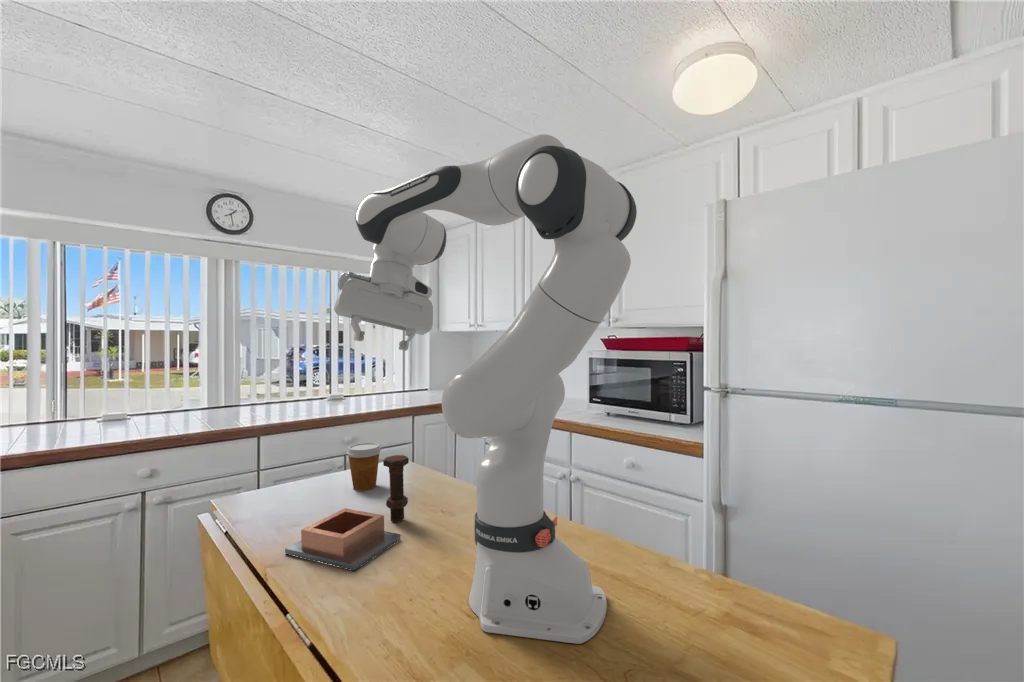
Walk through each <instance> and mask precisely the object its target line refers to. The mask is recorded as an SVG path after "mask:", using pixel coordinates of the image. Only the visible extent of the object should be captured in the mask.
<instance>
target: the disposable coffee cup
mask: <svg viewBox="0 0 1024 682" xmlns="http://www.w3.org/2000/svg"><path fill="white" fill-rule="evenodd" d="M381 449H382V448H381V447H380V444H379V443H376V442H362V443H361V442H360V443H355V444H351V445H350V446H348V447H347V451H346V454H347V458H348V463H349V468H350V469H349V470H350V474H351V475H350V476H351V481H352V489H353V490H354V491H357V490H358V492H359V491H360V492H362V491H365V490H366V491H371V490H373V489H376V487H377V480H378V479H377V478H378V469H379V460H380V452H381Z"/></svg>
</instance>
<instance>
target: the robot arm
mask: <svg viewBox="0 0 1024 682" xmlns="http://www.w3.org/2000/svg"><path fill="white" fill-rule="evenodd" d="M637 209H638V208H637V205H636V202H635V199H634V197H633V195H632V193H631V192H630V190H629V189H628V188H627V187H626V186H625V185H624V184H623V183H621V182H619V181H617V179H615V178H614V177H612V175H610V174H609V173H608V171H606V170H605V169H604V168H603V166H600V165H599V164H597V163H595V162H593V161H592V160H590V159H589V158H586V157H583V156H581V155H580V154H578V153H577V152H576V151H574V150H572V149H569V148H567V147H566V146H565V145H564V144H563V143H562V141H561V140H559V139H558V138H556V136H553V135H552V134H551V135H550V134H546V133H545V134H538V135H535V136H534V135H533V136H531V137H529V138H526V139H523V140H521V141H518V142H516V143H514V144H512V145H510V146H508V147H506V148H504V149H503V150H500V151H499V152H497V153H496V154H494V155H491V157H488V158H486V159H483V160H481V161H477V162H474V163H472V162H471V163H469V164H460V165H443V166H439V167H437V168H435V169H431V170H430V171H426V172H425V173H422V174H420V175H418V176H416V177H413V178H411V179H409V180H406V181H404V182H402V183H399V184H398V185H397V184H396V185H395V186H393V187H391V188H384V189H380V190H376V191H373V192H371V193H369V194H367V195H366V196H365V197H364V198H363V199H362V200H361V201H360V203H359V205H358V207H357V209H356V212H355V217H354V218H355V223H356V227H357V229H358V232H359V234H360V235H361V237H362V239H363V240H365V241H367V242H370V243H371V244H373V260H372V262H371V265H370V269H369V276H367V275H362V274H357V273H355V272H351V271H348V272H344V273H343V272H342V273H341V274H340V275H339V277H338V282H337V288H338V289H339V291H338V293H337V296H336V300H335V303H334V307H333V310H334V312H335V314H336V315H337V316H340V317H344V318H349V319H350V325H351V327H352V330H353V332H354V335H353V336H354V337H353V340H354V341H356V342H363V341H364V339H365V333H366V332H365V331H363V330H362V329H361V326H360V323H361V322H366V323H370V324H374V325H377V326H383V327H387V328H390V329H391V328H392V329H394V330H395V329H396V330H399V331H403V332H405V334H404V335H405V337H406V338H405V339H403V340H401V341H399V343H398V350H399V351H404V352H406V351H408V349H409V345H410V342H411V340H413V338H414V337H415V336H416V335H420V336H425V335H426V334H428V333H429V332H430V331H432V329H433V324H434V323H433V322H434V308H433V307H434V306H433V303H432V301H431V300H430V298H431V297H432V295H433V290H432V288H431V287H430V286H428V285H427V284H425V283H423V282H422V280H419V279H418V278H416V276H414V275H413V268H414V267H415V266H424V265H427V264H430V263H433V262H434V261H436V260H438V259H439V258H440V257H442V255H443V254H444V252H445V249H446V247H447V232H446V228H445V226H444V224H443V223H441V222H440V221H439V220H438V219H436V218H434V217H432V216H430V215H429V214H427V213H426V211H431V210H432V211H433V210H434V211H435V210H436V211H438V210H439V211H445V212H449V213H452V214H455V215H459V216H461V217H464V218H467V219H470V220H472V221H474V222H477V223H479V224H481V225H486V226H500V225H501V226H502V225H505V224H510V223H513V222H515V221H518V220H519V219H521V218H523V217H526V218H527V219H528V220H529V221H530V222H531V224H532V225H533V226H534V228H535V229H536V232H537V233H538V235H539V236H540V238H542V239H543V240H553V242H554V255H553V257H552V259H551V261H550V263H549V265H548V266H547V268H546V270H545V271H544V273H543V274H542V276H541V277H540V279H539V281H538V283H537V285H536V286H535V288H534V289H533V290H532V292H531V294H530V296H529V297H528V299H527V300H526V302H525V304H524V305H523V306H522V308H521V310H520V312H519V313H518V314H517V316H516V318H515V319H514V321H513V322H512V324H511V325H510V326H509V327H508V328H507V330H505V332H504V333H503V334H502V335H501V336H500V337H498V339H497V340H496V341H495V342H494V343H493V344H492V345H491V346H490V347H489V348H488V349H487V350H486V351H485V352H484V353H483V354H482V355H481V356H480V357H479V358H478V359H477V360H476V361H475V362H474V363H472V364H471V365H470V366H469V367H468V368H466V369H464V370H463V371H462V372H460V373H458V374H457V375H455V376H453V377H452V378H451V379H450V380H449V381H448V382H447V384H446V385H445V387H444V388H443V389H444V390H443V392H442V395H441V412H442V415H443V418H444V420H445V422H446V424H447V426H448V427H449V429H450V430H451V431H452V432H453V433H454V434H455V435H456V436H459V437H461V438H463V439H464V438H465V439H490V442H489V445H488V447H487V449H486V452H485V453H484V455H483V456H482V457H481V458H480V460H479V462H478V465H477V468H476V471H475V472H476V473H475V474H476V478H475V479H476V480H475V481H476V485H475V486H476V512H475V514H474V543H475V546H476V551H475V552H476V554H475V556H476V557H475V566H474V573H473V579H472V584H471V588H470V593H469V595H468V604H469V605H468V606H469V607H470V609H471V610H472V612H474V614H475V615H476V616H477V617H478V619H479V625H480V628H481V630H482V631H483V632H486V633H488V634H489V633H490V634H491V633H492V634H499V635H507V636H514V637H521V638H522V637H523V638H531V639H538V640H546V641H553V642H561V643H567V644H568V643H570V644H577V645H578V644H579V645H580V644H584V643H586V642H587V641H589V640H590V639H591V638H593V637H594V636H595V635H596V634H597V633H598V632H599V630H600V628H601V627H602V626H603V623H604V620H605V618H606V614H607V610H608V603H607V602H608V601H607V596H606V594H605V592H604V591H603V590H604V589H602V588H601V587H599V586H596V585H593V583H592V581H593V580H592V577H591V573H590V569H589V566H588V565H587V563H586V561H585V560H584V559H583V558H582V557H581V556H579V555H578V554H576V552H574V551H573V550H572V549H571V548H570V547H568V546H567V545H566V544H565V543H564V542H563V541H562V540H560V538H558V537H557V536H556V527H557V525H558V516H555V517H554V518H553V520H552V519H551V518H550V517H549V516H548V514H547V513H546V511H545V509H544V508H545V507H544V471H545V470H544V469H545V461H546V460H545V459H546V454H547V450H548V444H549V441H550V436H551V432H552V427H553V424H554V421H555V418H556V415H557V413H558V411H559V410H560V408H561V406H562V405H563V403H564V400H565V394H566V393H565V392H566V390H565V389H566V388H565V384H564V381H563V379H562V377H561V375H560V373H561V372H563V371H564V370H565V369H567V368H568V367H570V366H571V365H572V364H573V363H574V362H575V361H576V360H577V357H578V355H580V353H581V352H582V350H583V349H584V348H585V346H586V345H587V343H588V342H589V340H590V339H591V337H592V336H593V334H594V333H595V332H596V330H597V329H598V328H599V325H600V324H601V323H602V321H603V320H604V318H606V315H607V314H608V312H609V311H610V309H611V308H612V306H613V304H614V302H615V301H616V298H617V297H618V295H619V293H620V291H621V288H622V287H623V285H624V282H625V280H626V278H627V275H629V274H628V273H629V271H630V267H631V264H632V263H631V255H630V253H629V251H628V249H627V247H626V246H625V244H624V243H623V242H622V241H623V240H624V239H625V238H627V236H629V234H630V233H631V231H632V230H633V228H634V225H635V223H636V220H637V211H638V210H637Z"/></svg>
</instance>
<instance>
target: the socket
mask: <svg viewBox="0 0 1024 682" xmlns="http://www.w3.org/2000/svg"><path fill="white" fill-rule="evenodd" d="M300 535H301V536H300V537H301V539H300V540H299V541H297V542H295V543H292V544H291V545H289V546H287V547H284V554H285V553H286V554H290V555H295V556H298V557H302V558H306V559H310V560H315V561H320V562H323V563H327V564H332V565H335V566H339V567H342V568H347V569H351V570H355V571H357V570H358V569H359V568H358V567H360V566H361V565H363V564H364V563H366V562H367V561H369V560H370V561H372V560H373V559H374V558H376V557H377V556H379V555H381V554H382V553H383V552H385V551H386V550H387V548H388V547H389V548H390V546H391V545H392V546H393V544H394V543H395V544H396V542H397V541H398V542H400V541H401V540H402V539H401V537H402V536H401V533H397V532H391V531H387V530H386V531H385V514H380V513H373V512H367V511H364V510H357V509H351V508H342V509H341V510H339V511H336V512H334V513H332V514H330V515H329V516H326V517H324V518H323V519H319V520H318V521H316V522H314V523H312V524H310V525H308V526H306V527H304V528H302V529H300ZM400 539H401V540H400ZM398 542H397V543H398ZM395 544H394V545H395ZM392 546H391V547H392ZM389 548H388V549H389ZM384 550H385V551H384ZM382 551H383V552H382ZM381 552H382V553H381ZM286 554H285V555H286ZM378 554H379V555H378ZM290 555H289V556H290ZM375 556H376V557H375ZM298 557H297V558H298ZM373 557H374V558H373ZM302 558H301V559H302ZM372 558H373V559H372ZM306 559H305V560H306ZM371 559H372V560H371ZM310 560H309V561H310ZM370 561H369V562H370ZM367 563H368V562H367ZM367 563H366V564H367ZM364 565H365V564H364ZM364 565H363V566H364ZM361 567H362V566H361ZM361 567H360V568H361ZM342 568H341V569H342ZM357 568H358V569H357ZM356 569H357V570H356Z"/></svg>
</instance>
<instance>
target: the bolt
mask: <svg viewBox="0 0 1024 682" xmlns="http://www.w3.org/2000/svg"><path fill="white" fill-rule="evenodd" d="M409 463H410V462H409V457H408V456H406V455H403V454H400V455H399V454H397V455H396V454H395V455H390V456H387V457H385V458H384V459H383V464H382V466H384V467H387V468H388V473H389V497H387V499H386V502H385V506H386V507H387V508H388V509H389V510H390V515H389V516H390V522H392V523H401V522H403V521H404V519H405V507H407V505H408V503H409V500H408V499H409V498H408V497H407V496H406V495H405V494H404V493H405V492H404V491H405V490H404V489H405V488H404V487H405V486H404V483H405V482H404V470H405V469H404V467H405V466H406V465H408V464H409Z"/></svg>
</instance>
